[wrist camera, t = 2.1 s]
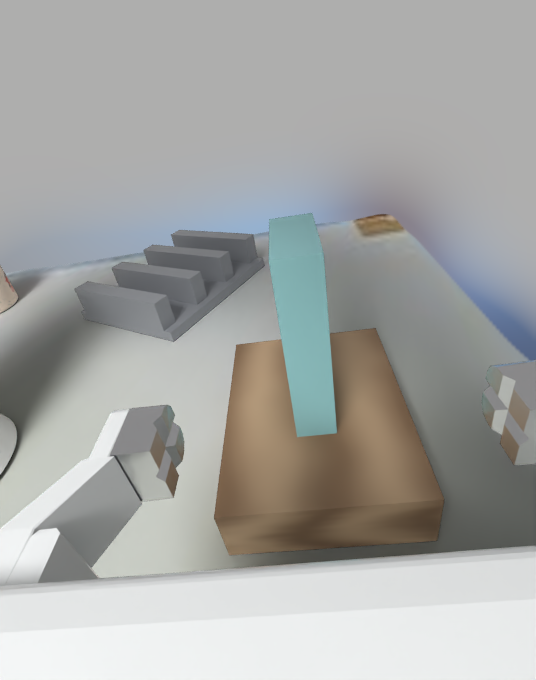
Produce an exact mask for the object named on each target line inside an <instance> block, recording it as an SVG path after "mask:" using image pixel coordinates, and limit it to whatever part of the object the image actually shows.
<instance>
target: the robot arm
mask: <svg viewBox="0 0 536 680" xmlns="http://www.w3.org/2000/svg"><path fill="white" fill-rule="evenodd" d="M486 380H487V381H488V383H489V384H490V386H489V387H488V388H487V389H486V390H485V391H484V392H483V396H482V408H483V414H484V416H485V419H486V421H487V423H488V425H489V426H490V428H491V429H492V430H494V431H496V432H497V433H499V434H501V435H502V436H501V441H500V444H501V446H502V447H503V449H504V450H505V452H506V454H507V455H508V457H509V458H510V460H511V461H512V463H513V465H529V464H536V360H534V361H525V362H517V363H509V364H501V365H493V366H490V367H489V369H488V370H487V375H486ZM174 416H175V414H174V412H173V410H172V408H171V406H169V405H160V406H150V407H139V408H132V409H122V410H114V411H113V412H112V413H110V415H109V417H108V419H107V421H106V423H105V425H104V427H103V429H102V431H101V433H100V436H99V438H98V440H97V442H96V444H95V446H94V448H93V450H92V452H91V454H90V456H89V458H88V459H84V460H82V461H80V462H79V463H78V464H77V465H76V466H74V467H73V468H72V469H71V470H70V471H68V472H67V473H66V474H65V475H64V476H62V477H61V478H60V479H59V480H58V481H56V482H55V483H54V484H53V485H52V486H50V487H49V488H48V489H47V490H46V491H44V492H43V493H42V494H41V495H40V496H38V497H37V498H36V499H35V500H34V501H32V502H31V503H30V504H29V505H28V506H26V507H25V508H24V509H23V510H22V511H20V512H19V513H18V514H17V515H16V516H14V517H13V518H12V519H11V520H10V521H8V522H7V523H6V524H5V525H4V526H2V527H1V528H0V680H536V545H534V546H521V547H508V548H494V549H481V550H468V551H455V552H442V553H429V554H416V555H403V556H389V557H376V558H363V559H350V560H337V561H324V562H311V563H298V564H284V565H271V566H258V567H245V568H232V569H218V570H205V571H192V572H179V573H165V574H152V575H139V576H126V577H112V578H99V576H98V575H97V574H96V573H95V572H94V571H93V570H92V567H93V565H94V564H95V563H96V561H97V560H98V559H99V558H100V556H101V555H102V554H103V553H104V551H105V550H106V549H107V548H108V546H109V545H110V544H111V543H112V541H113V540H114V539H115V537H116V536H117V535H118V534H119V532H120V531H121V530H122V529H123V527H124V526H125V525H126V524H127V522H128V521H129V520H130V519H131V517H132V516H133V515H134V513H135V512H136V511H137V510H138V508H139V507H140V506H141V505H142V502H146V501H154V500H162V499H170V498H174V494H175V490H176V485H177V481H178V477H179V475H178V473H177V471H176V467H177V466H178V465H179V464H180V463H181V462H182V459H183V455H184V438H183V434H182V431H181V428H180V427H179V426H178V425H176V424H175V423H173V420H174ZM16 441H17V430H16V427H15V425H14V423H13V422H12V421H11V420H10V419H9V418H8V417H6V416H4V415H2V414H1V413H0V474H1V473H2V471H3V470H4V469H5V467H6V465H7V464H8V462H9V460H10V458H11V456H12V454H13V452H14V449H15V446H16Z"/></svg>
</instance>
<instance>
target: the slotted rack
mask: <svg viewBox="0 0 536 680" xmlns="http://www.w3.org/2000/svg"><path fill="white" fill-rule="evenodd" d="M171 236H172V239H173V243H174V246H175V247H173V246H162V245H161V246H160V245H152V246H150V247H148V248H147V249H145V250H144V253H145V256H146V259H147V262H148V265H145V264H137V263H129V262H121V263H119V264H118V265H116V266H114V267H112V270H113V273H114V275H115V278H116V280H117V283H118V285H119V287H117V286H111V285H105V284H99V283H94V282H88V281H87V282H85V283H84V284H82V285H80V286H78V287H77V288H75V291H76V293H77V295H78V297H79V299H80V301H81V303H82V305H83V308H84V310H83V311H81V312H82V314H83V316H84V318H85V319H86V320H90V321H94V322H98V323H102V324H106V325H110V326H114V327H118V328H122V329H125V330H129V331H133V332H137V333H141V334H145V335H149V336H153V337H157V338H161V339H165V340H169V341H173V342H174V341H175V340H176V339H177V338H179V337H180V336H181V335H182V334H183V333H185V332H186V331H187V330H188V329H189V328H191V327H192V326H193V325H194V324H195V323H196V322H198V321H199V320H200V319H201V318H202V317H204V316H205V315H206V314H207V313H208V312H210V311H211V310H212V309H213V308H214V307H216V306H217V305H218V304H219V303H220V302H222V301H223V300H224V299H225V298H226V297H227V296H229V295H230V294H231V293H232V292H233V291H235V290H236V289H237V288H238V287H239V286H241V285H242V284H243V283H244V282H245V281H247V280H248V279H249V278H250V277H251V276H253V275H254V274H255V273H256V272H257V271H258V270H260V269H261V268H262V267H263V266H264V261H263V258H258V257H257V253H256V248H255V242H254V237H253V234H239V233H223V232H205V231H188V230H179V231H177V232H175V233H173V234H171Z"/></svg>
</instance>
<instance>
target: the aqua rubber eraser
mask: <svg viewBox="0 0 536 680" xmlns="http://www.w3.org/2000/svg"><path fill="white" fill-rule="evenodd" d="M269 265H270V271H271V278H272V284H273V290H274V296H275V303H276V309H277V315H278V321H279V327H280V334H281V340H282V346H283V352H284V358H285V365H286V371H287V377H288V383H289V389H290V396H291V402H292V408H293V414H294V421H295V427H296V433H297V437H303V436H314V435H324V434H334V433H337V427H336V413H335V400H334V387H333V373H332V360H331V347H330V333H329V320H328V306H327V293H326V280H325V266H324V253H323V249H322V246H321V242H320V239H319V235H318V232H317V228H316V225H315V221H314V218H313V214H312V213H309V214H302V215H295V216H289V217H282V218H275V219H270V220H269Z"/></svg>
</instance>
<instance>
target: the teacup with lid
mask: <svg viewBox="0 0 536 680" xmlns="http://www.w3.org/2000/svg"><path fill="white" fill-rule="evenodd" d="M17 299H18V295H17V293H16V291H15V290H14V288H13V286H12V285H11V283H10V281H9V279H8V278H7V276H6V274H5V273H4V271H3V269H2V267H1V266H0V313H2V312H4V311H5V310H7V309H9V308H10V307H11V306H13V305H14V304H15V303H16V301H17Z"/></svg>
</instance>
